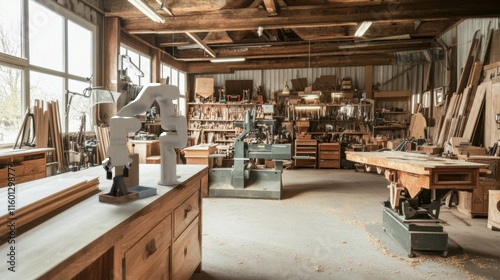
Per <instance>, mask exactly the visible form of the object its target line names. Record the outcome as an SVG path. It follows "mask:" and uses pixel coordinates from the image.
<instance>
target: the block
mask: <svg viewBox="0 0 500 280" xmlns="http://www.w3.org/2000/svg"><path fill="white" fill-rule="evenodd" d="M128 154H129V158H131V159H132V160H133V161H132V163H131V164H132V165H131V166H130V169H129V177H124V182H125V185H126V187H127V188H131V187H135V186H140V153H137V152H128ZM123 169H124V167H123V166H118V167H114V177H115V176H117V175H123ZM118 190H119V188H118ZM118 190H117V191H118Z"/></svg>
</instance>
